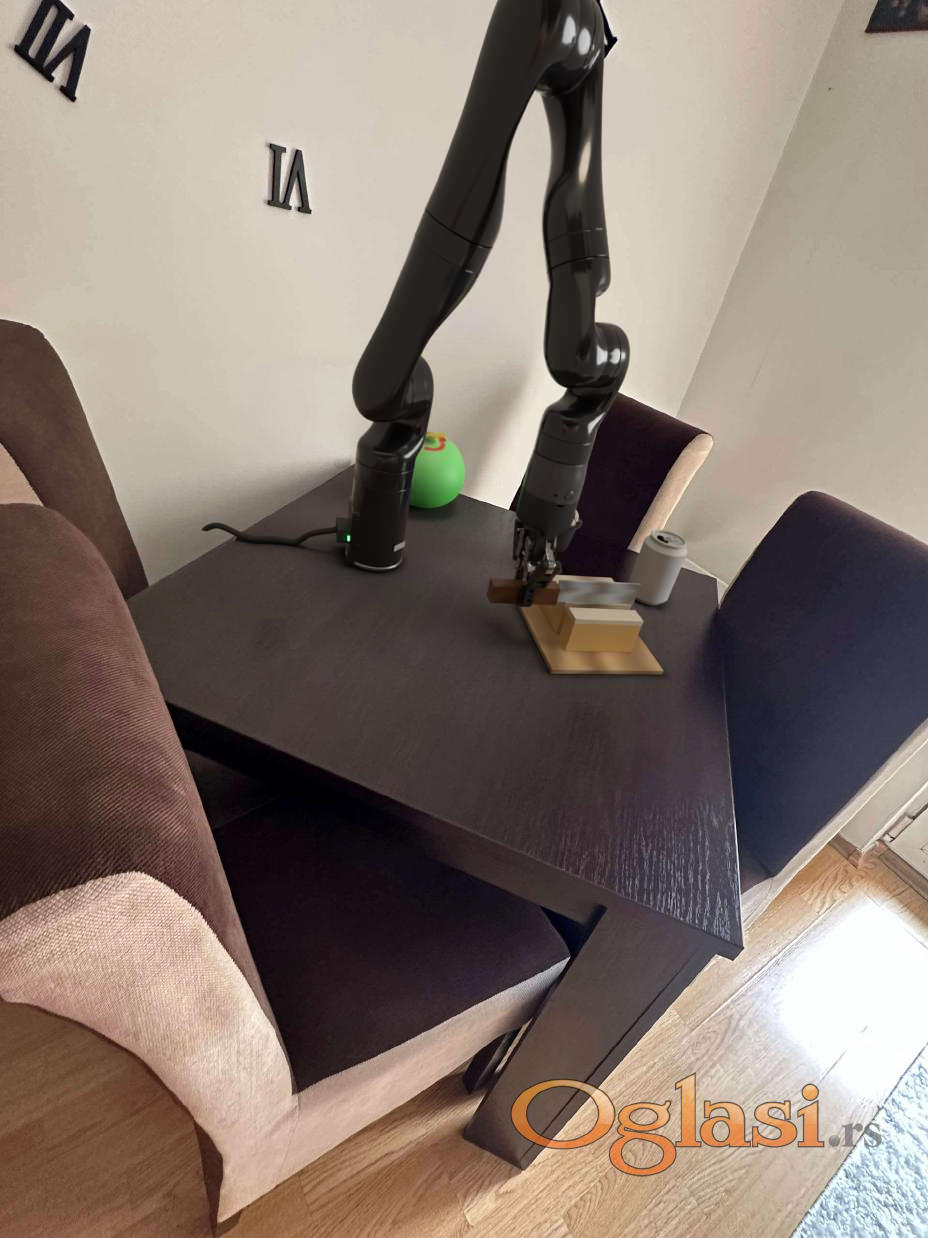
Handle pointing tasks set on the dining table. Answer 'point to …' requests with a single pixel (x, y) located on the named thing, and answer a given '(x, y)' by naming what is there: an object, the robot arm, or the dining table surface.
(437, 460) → the toy bird
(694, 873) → the dining table surface
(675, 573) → the can
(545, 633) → the wooden stepped base
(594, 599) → the knife
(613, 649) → the cake slice
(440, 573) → the dining table surface
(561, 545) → the sundae
